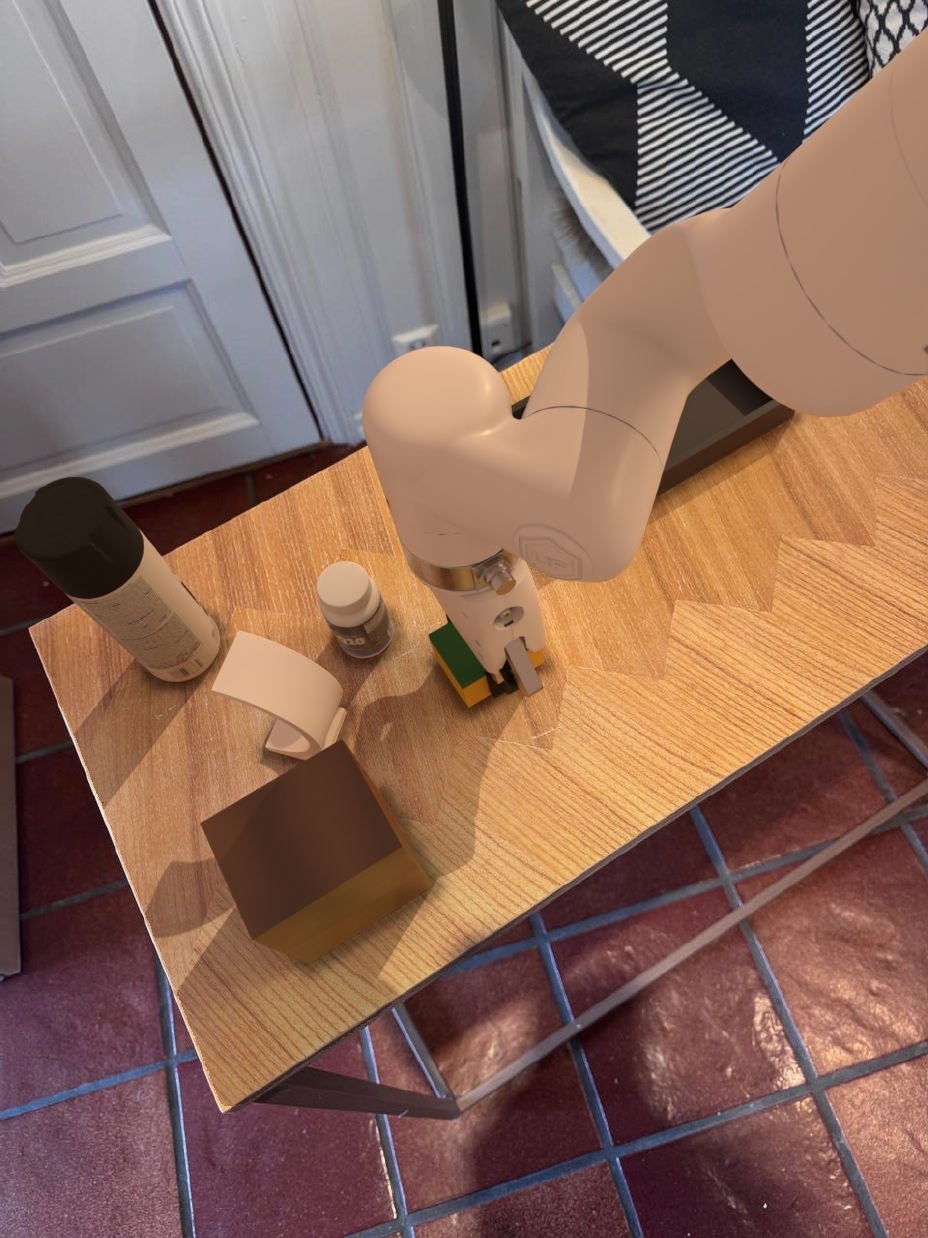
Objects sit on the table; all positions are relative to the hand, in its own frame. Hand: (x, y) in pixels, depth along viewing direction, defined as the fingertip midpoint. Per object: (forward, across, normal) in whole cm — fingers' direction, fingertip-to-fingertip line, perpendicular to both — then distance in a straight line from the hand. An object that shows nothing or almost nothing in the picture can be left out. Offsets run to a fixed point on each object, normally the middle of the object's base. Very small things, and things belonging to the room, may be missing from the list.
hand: (489, 656), depth 69 cm
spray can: (+1, +15, +21) cm, 26 cm away
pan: (+1, +12, -22) cm, 25 cm away
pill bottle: (+1, +8, +7) cm, 11 cm away
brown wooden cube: (+1, -9, +18) cm, 20 cm away
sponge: (+1, 0, 0) cm, 1 cm away
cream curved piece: (+1, +3, +15) cm, 15 cm away
